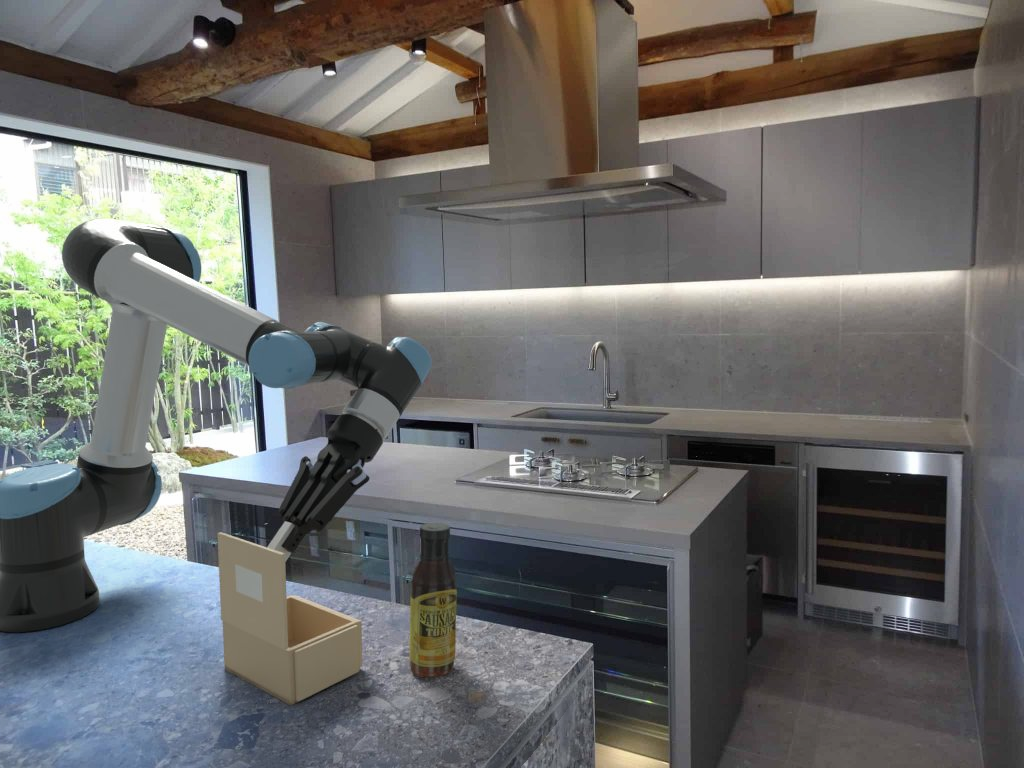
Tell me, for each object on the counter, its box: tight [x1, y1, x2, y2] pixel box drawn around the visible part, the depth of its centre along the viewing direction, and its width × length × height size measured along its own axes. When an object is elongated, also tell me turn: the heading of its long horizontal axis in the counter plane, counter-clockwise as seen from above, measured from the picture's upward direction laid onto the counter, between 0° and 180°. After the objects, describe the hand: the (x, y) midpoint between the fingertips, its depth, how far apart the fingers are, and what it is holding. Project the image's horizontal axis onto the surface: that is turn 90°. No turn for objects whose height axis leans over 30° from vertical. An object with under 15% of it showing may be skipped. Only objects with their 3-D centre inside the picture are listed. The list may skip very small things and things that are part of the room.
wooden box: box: [222, 594, 363, 707], centre depth 98 cm, size 16×12×7 cm
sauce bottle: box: [408, 522, 458, 679], centre depth 97 cm, size 7×6×20 cm
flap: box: [216, 531, 288, 650], centre depth 92 cm, size 14×1×12 cm, turn 52°
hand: (265, 570), depth 94 cm, fingers closed
